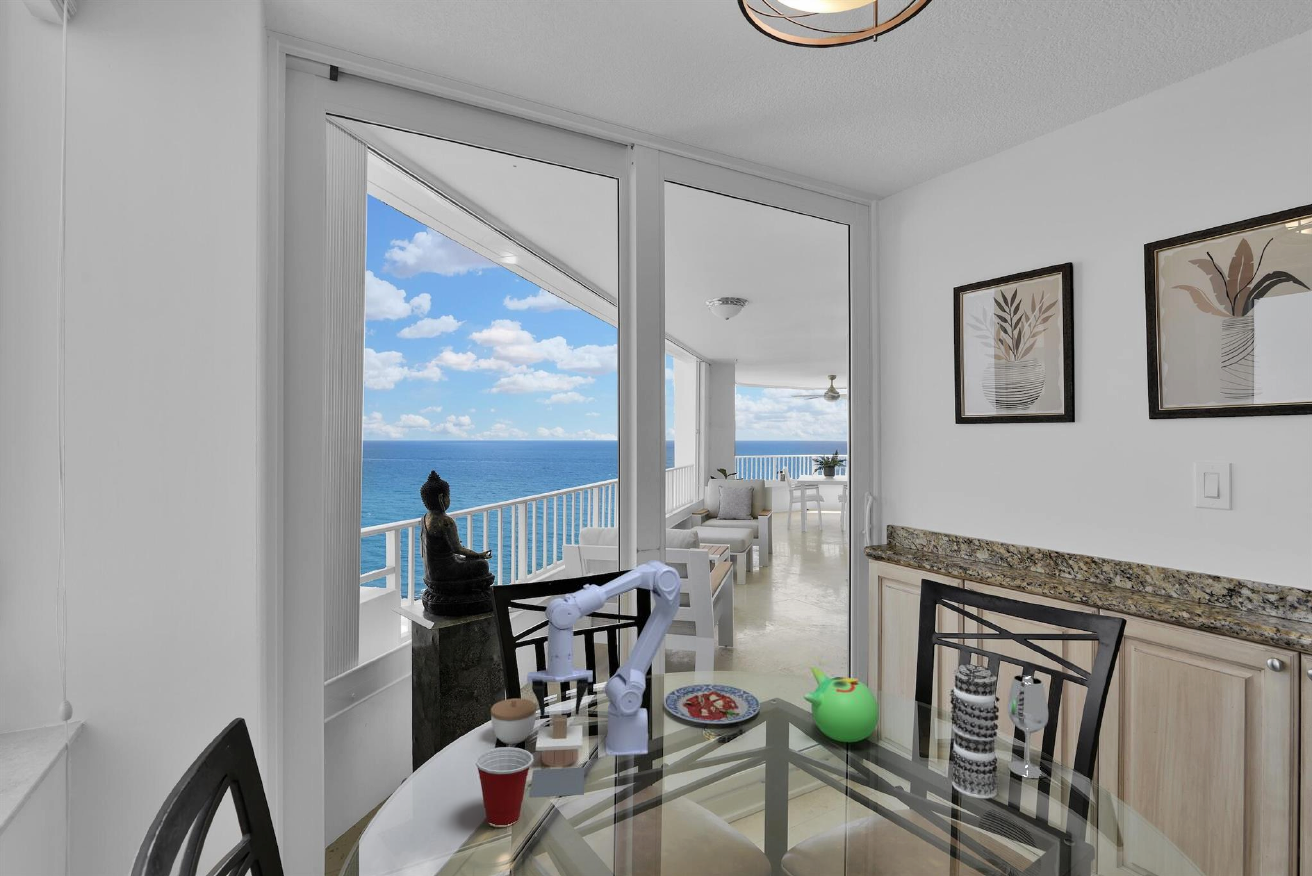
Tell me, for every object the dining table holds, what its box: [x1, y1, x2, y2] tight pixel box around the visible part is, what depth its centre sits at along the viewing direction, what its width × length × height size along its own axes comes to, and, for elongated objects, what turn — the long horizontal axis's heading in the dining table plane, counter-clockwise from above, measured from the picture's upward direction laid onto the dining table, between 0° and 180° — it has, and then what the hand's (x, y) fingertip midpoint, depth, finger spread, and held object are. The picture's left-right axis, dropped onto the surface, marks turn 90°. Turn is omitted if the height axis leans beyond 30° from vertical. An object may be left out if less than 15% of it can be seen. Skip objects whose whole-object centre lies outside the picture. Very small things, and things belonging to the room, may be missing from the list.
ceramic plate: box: [663, 683, 761, 725], centre depth 175 cm, size 26×26×3 cm
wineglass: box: [1007, 674, 1049, 779], centre depth 143 cm, size 8×8×20 cm
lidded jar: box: [490, 698, 537, 745], centre depth 157 cm, size 11×11×9 cm
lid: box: [535, 714, 583, 752], centre depth 147 cm, size 10×10×5 cm
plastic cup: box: [475, 746, 534, 825], centre depth 123 cm, size 11×11×12 cm
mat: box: [528, 766, 585, 798], centre depth 136 cm, size 11×11×1 cm
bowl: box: [541, 749, 579, 768], centre depth 147 cm, size 8×8×4 cm
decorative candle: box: [949, 663, 1000, 799], centre depth 136 cm, size 9×9×25 cm
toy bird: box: [803, 667, 880, 743], centre depth 159 cm, size 18×17×15 cm
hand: (560, 713), depth 147 cm, fingers open, 7 cm apart
